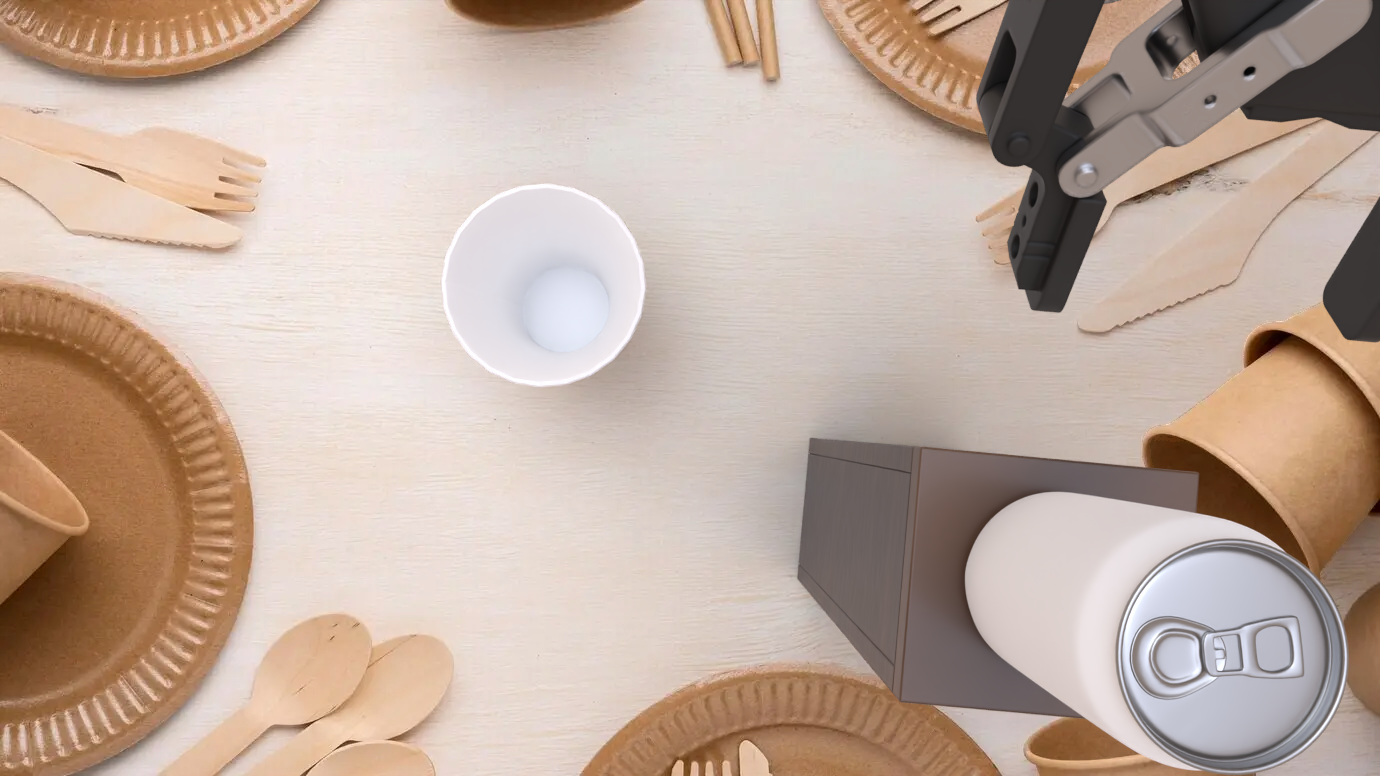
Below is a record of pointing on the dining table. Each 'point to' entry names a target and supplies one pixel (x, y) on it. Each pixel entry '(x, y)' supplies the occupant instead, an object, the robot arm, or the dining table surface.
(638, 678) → the dining table surface
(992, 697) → the shelf
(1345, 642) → the can
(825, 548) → the shelf frame
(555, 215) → the cup
